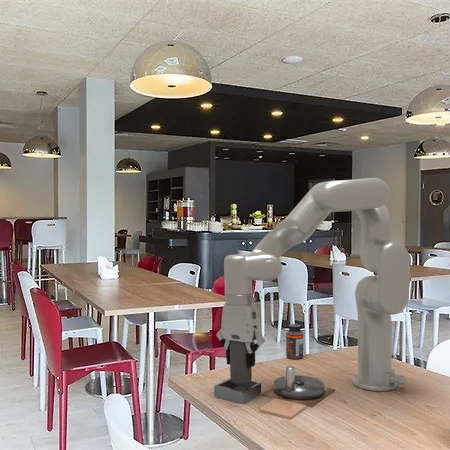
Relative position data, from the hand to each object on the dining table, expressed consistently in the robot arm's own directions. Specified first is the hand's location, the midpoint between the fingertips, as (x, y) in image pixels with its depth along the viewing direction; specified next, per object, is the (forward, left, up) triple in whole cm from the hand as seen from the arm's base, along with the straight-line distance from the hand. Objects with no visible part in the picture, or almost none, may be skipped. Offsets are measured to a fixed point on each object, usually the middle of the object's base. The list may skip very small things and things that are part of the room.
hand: (240, 364), depth 139 cm
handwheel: (-12, -10, -8) cm, 18 cm away
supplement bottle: (+5, -41, -9) cm, 43 cm away
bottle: (0, 0, -5) cm, 5 cm away
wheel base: (-12, -10, -8) cm, 18 cm away
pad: (-14, +3, -8) cm, 17 cm away
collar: (+1, +1, -8) cm, 8 cm away
